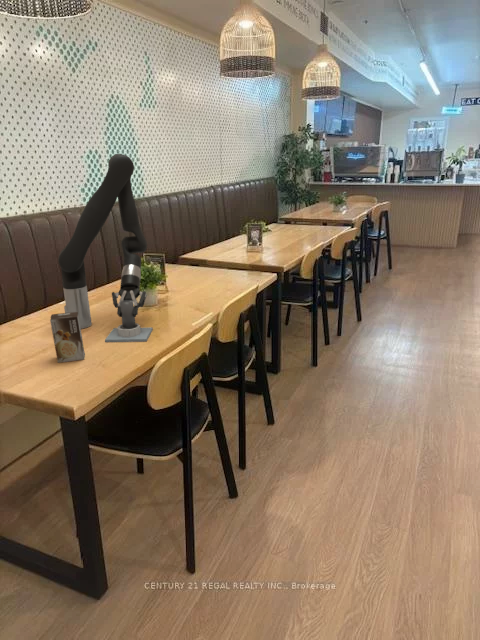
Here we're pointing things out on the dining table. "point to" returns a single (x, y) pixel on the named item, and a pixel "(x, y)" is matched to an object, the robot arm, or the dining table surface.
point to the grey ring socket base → (129, 334)
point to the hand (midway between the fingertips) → (127, 316)
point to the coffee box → (67, 337)
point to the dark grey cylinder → (127, 314)
